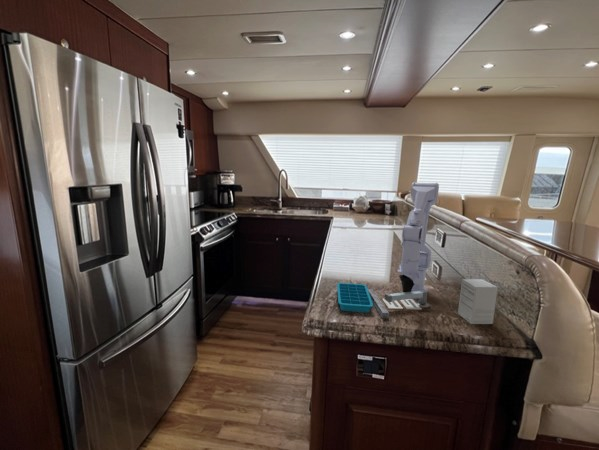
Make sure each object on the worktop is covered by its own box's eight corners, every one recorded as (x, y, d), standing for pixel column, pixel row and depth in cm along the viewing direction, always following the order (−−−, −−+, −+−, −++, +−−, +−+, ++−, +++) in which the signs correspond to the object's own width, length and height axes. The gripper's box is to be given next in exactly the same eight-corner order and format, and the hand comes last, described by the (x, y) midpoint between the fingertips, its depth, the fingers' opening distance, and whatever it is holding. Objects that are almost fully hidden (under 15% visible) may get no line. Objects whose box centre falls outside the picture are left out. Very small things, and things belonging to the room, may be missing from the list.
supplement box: (477, 313, 96) (482, 278, 94) (493, 324, 89) (499, 287, 87) (456, 313, 96) (461, 278, 94) (470, 324, 89) (475, 286, 87)
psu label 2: (399, 299, 106) (399, 298, 106) (412, 299, 106) (412, 298, 106) (407, 309, 98) (407, 308, 98) (421, 309, 98) (421, 308, 98)
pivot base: (412, 301, 105) (412, 300, 104) (425, 301, 105) (425, 301, 105) (418, 307, 100) (418, 306, 100) (432, 307, 100) (432, 307, 100)
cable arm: (422, 301, 104) (423, 289, 103) (427, 304, 101) (429, 292, 100) (383, 305, 99) (384, 293, 98) (388, 308, 97) (389, 296, 96)
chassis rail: (366, 293, 111) (367, 288, 110) (371, 293, 111) (372, 288, 110) (382, 318, 91) (382, 312, 91) (388, 318, 91) (388, 312, 91)
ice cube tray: (338, 312, 95) (338, 304, 95) (336, 289, 115) (337, 282, 114) (373, 315, 94) (373, 306, 93) (365, 291, 114) (365, 284, 113)
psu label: (382, 299, 106) (382, 298, 106) (395, 299, 106) (395, 298, 106) (388, 308, 98) (389, 307, 98) (403, 309, 98) (403, 308, 98)
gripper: (392, 253, 106) (389, 287, 108) (407, 265, 92) (403, 304, 94) (410, 253, 106) (407, 287, 108) (428, 265, 92) (423, 304, 94)
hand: (406, 295), depth 101 cm, fingers closed, pressing on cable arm
